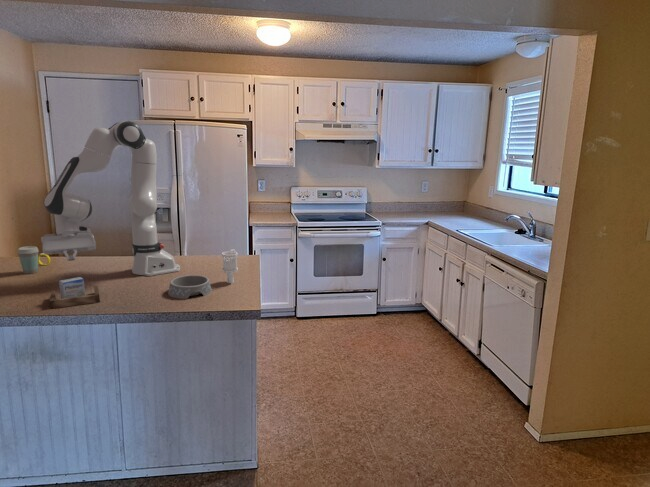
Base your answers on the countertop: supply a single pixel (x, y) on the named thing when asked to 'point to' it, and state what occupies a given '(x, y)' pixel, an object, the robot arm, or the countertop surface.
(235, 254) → the white stemmed cylinder
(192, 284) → the dog bowl
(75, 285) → the medicine box
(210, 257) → the countertop surface
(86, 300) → the brown u-shaped frame
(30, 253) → the coffee cup
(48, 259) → the watch
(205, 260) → the countertop surface
